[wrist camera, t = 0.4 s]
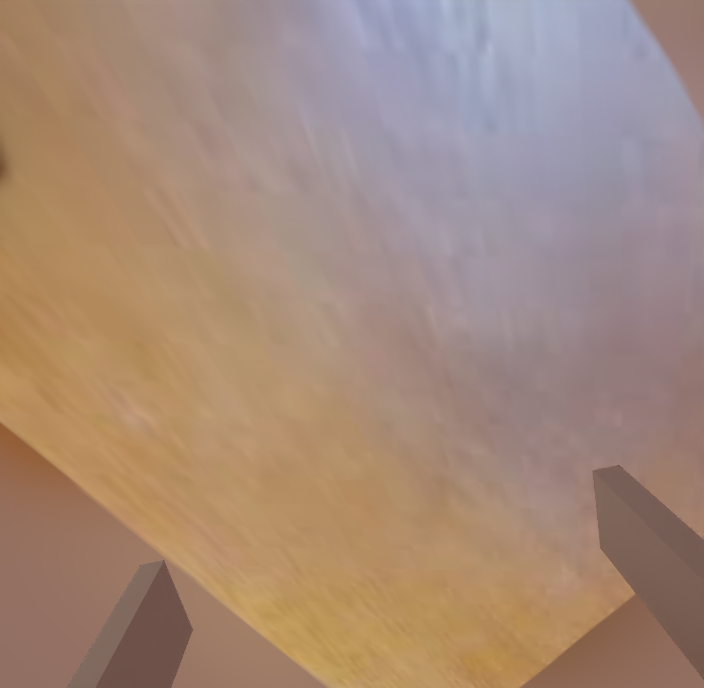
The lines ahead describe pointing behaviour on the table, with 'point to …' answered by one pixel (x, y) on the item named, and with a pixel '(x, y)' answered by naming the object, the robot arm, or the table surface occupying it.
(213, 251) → the table surface
